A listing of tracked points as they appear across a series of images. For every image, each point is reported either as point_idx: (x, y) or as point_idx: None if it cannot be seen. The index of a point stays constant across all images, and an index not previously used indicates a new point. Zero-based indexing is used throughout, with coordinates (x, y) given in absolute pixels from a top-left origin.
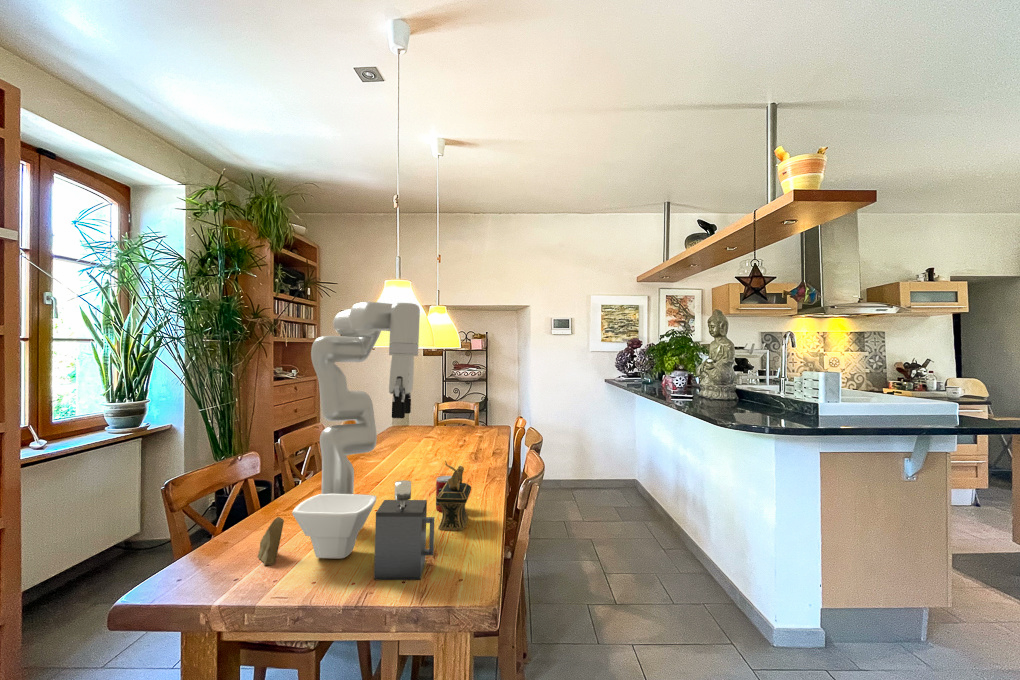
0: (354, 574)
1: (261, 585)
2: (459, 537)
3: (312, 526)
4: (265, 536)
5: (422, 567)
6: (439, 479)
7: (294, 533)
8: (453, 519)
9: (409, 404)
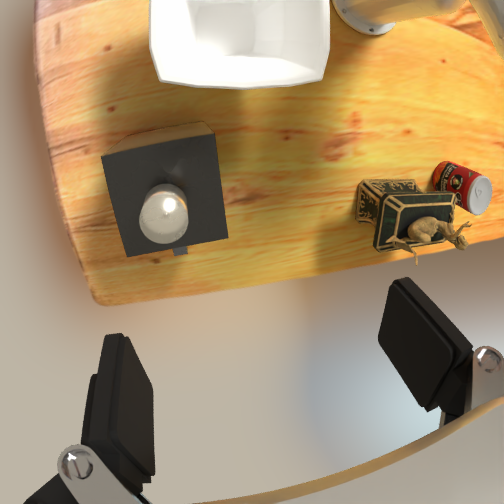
0: (144, 94)
1: None
2: (325, 221)
3: None
4: None
5: None
6: (479, 181)
7: None
8: (369, 210)
9: (405, 379)
